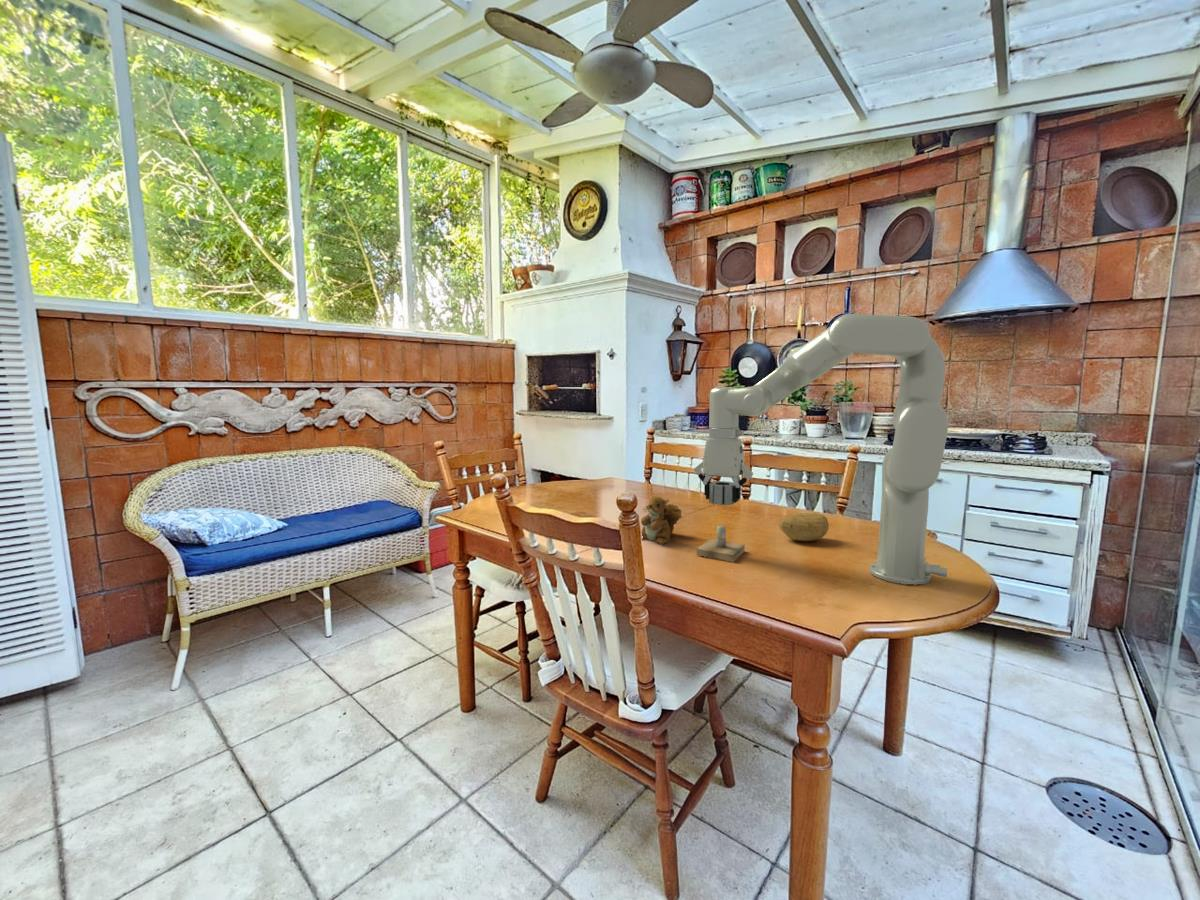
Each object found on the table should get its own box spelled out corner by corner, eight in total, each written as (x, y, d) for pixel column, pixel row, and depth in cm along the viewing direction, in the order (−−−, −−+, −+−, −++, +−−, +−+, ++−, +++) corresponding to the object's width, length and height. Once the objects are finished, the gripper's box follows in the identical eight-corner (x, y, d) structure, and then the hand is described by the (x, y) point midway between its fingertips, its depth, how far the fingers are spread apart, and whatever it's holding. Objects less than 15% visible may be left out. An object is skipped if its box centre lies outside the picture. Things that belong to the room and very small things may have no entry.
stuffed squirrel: (631, 539, 153) (631, 496, 151) (660, 529, 163) (660, 489, 161) (658, 546, 146) (658, 502, 144) (686, 535, 156) (687, 493, 154)
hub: (738, 500, 139) (738, 482, 138) (730, 506, 133) (731, 487, 132) (714, 498, 142) (714, 480, 142) (705, 503, 137) (706, 484, 136)
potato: (773, 535, 155) (774, 509, 154) (820, 535, 155) (821, 509, 154) (783, 545, 146) (784, 518, 145) (834, 545, 145) (835, 518, 144)
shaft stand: (744, 551, 141) (745, 525, 140) (733, 562, 133) (734, 534, 132) (709, 545, 147) (710, 520, 146) (696, 555, 138) (697, 528, 137)
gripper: (760, 434, 134) (758, 500, 136) (697, 431, 143) (696, 493, 145) (752, 437, 128) (750, 506, 130) (687, 434, 137) (686, 499, 139)
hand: (722, 499), depth 138 cm, fingers closed on hub, 6 cm apart
